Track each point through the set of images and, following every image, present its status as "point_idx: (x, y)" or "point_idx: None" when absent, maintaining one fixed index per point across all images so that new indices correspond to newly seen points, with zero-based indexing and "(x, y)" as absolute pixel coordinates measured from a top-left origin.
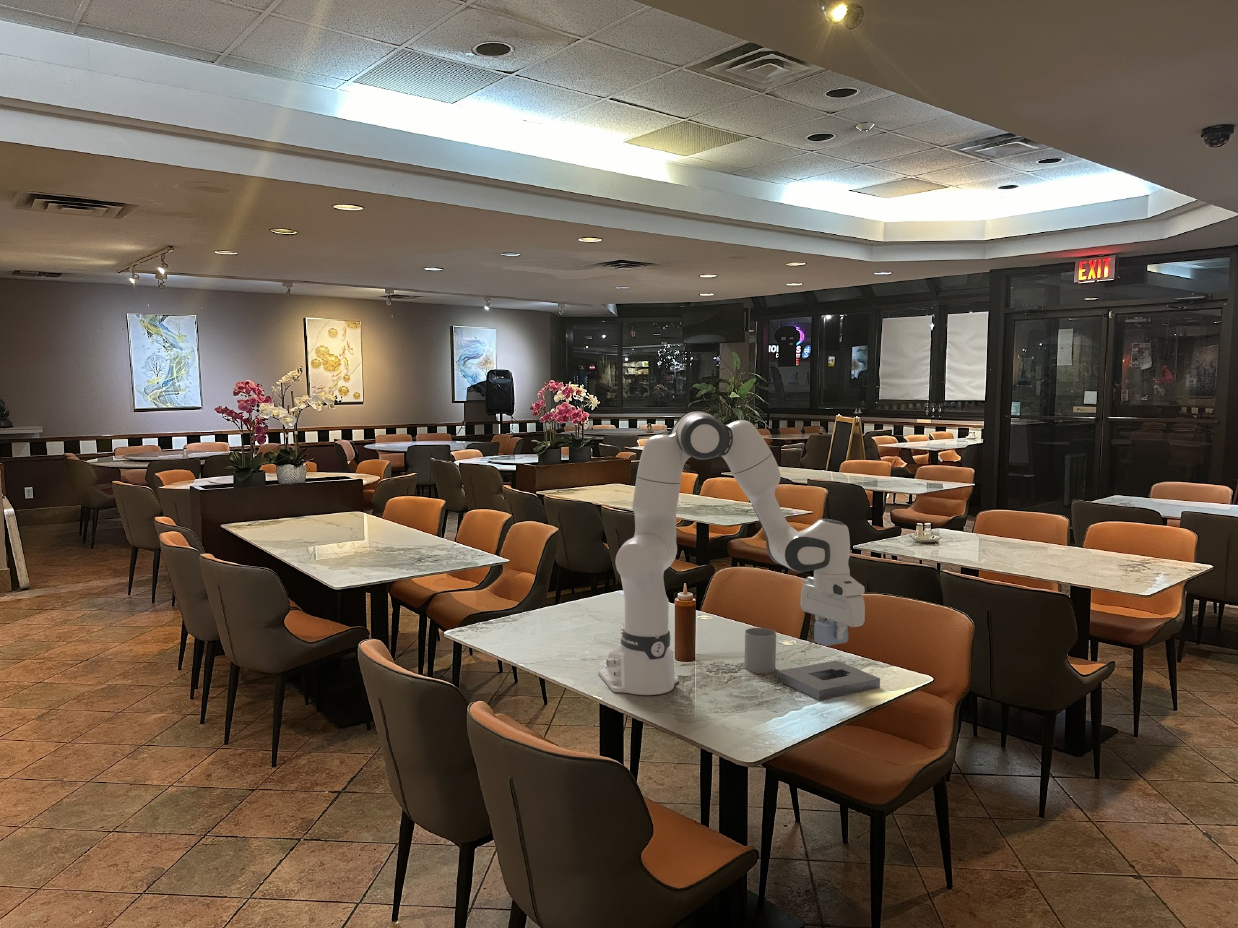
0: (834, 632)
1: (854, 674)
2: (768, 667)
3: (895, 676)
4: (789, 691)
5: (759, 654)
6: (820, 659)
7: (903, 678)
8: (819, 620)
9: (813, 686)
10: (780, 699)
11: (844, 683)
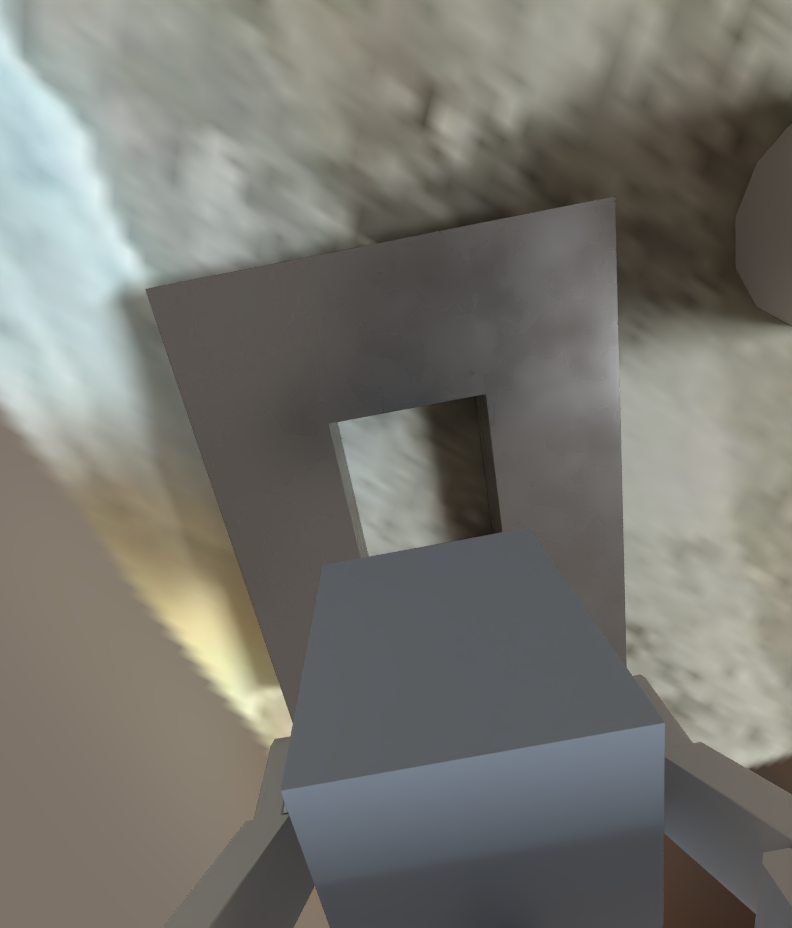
0: None
1: None
2: (762, 222)
3: None
4: (365, 177)
5: None
6: (764, 637)
7: None
8: (759, 848)
9: (228, 290)
10: (229, 7)
11: (249, 518)
